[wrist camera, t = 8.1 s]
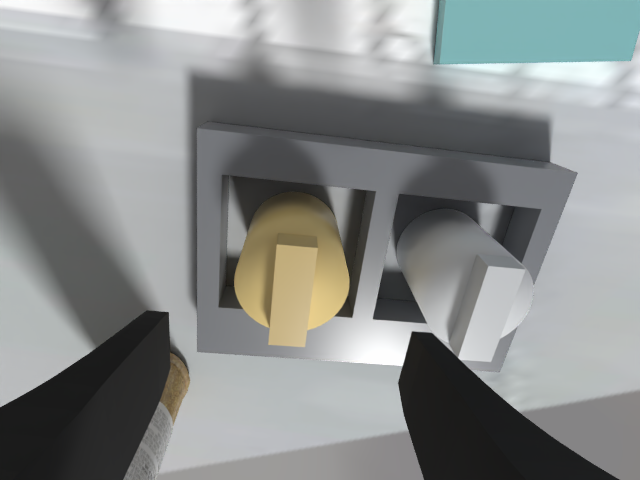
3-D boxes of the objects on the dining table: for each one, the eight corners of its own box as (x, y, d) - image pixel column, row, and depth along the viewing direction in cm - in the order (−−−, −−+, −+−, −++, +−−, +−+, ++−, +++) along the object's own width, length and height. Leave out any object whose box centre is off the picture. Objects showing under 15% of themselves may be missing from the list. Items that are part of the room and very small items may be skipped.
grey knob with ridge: (492, 213, 20) (566, 270, 14) (468, 289, 21) (525, 366, 16) (406, 204, 19) (448, 259, 14) (388, 282, 21) (420, 359, 16)
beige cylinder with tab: (344, 196, 19) (361, 249, 14) (331, 276, 21) (343, 351, 15) (252, 186, 19) (231, 237, 13) (247, 269, 20) (228, 344, 15)
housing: (550, 162, 19) (577, 172, 17) (483, 347, 23) (499, 372, 21) (207, 121, 17) (196, 128, 15) (205, 327, 22) (197, 352, 20)
